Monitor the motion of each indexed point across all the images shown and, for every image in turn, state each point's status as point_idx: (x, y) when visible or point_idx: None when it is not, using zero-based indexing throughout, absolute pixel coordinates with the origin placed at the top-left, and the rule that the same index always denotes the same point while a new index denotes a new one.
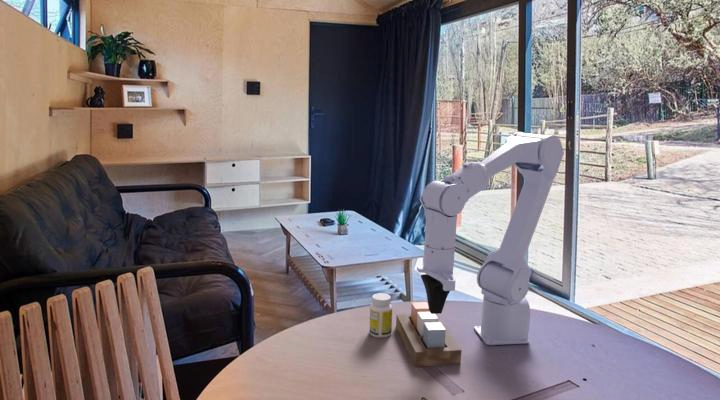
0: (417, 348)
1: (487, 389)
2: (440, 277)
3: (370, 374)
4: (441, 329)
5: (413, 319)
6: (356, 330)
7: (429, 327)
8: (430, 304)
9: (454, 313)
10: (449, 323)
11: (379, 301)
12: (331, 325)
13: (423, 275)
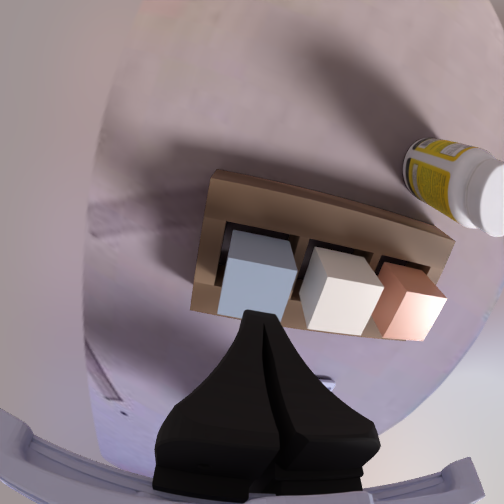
0: (233, 194)
1: (94, 283)
2: (21, 487)
3: (218, 34)
4: (220, 301)
5: (402, 270)
6: (459, 116)
7: (249, 270)
8: (238, 333)
9: (408, 371)
10: (382, 349)
11: (485, 174)
12: (492, 77)
13: (361, 450)
